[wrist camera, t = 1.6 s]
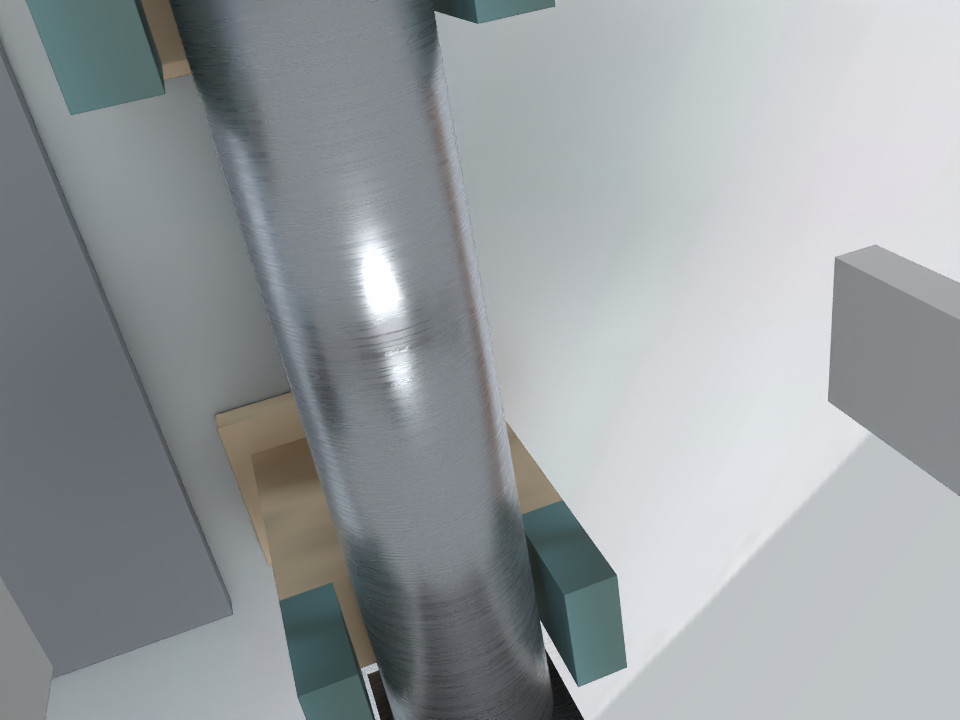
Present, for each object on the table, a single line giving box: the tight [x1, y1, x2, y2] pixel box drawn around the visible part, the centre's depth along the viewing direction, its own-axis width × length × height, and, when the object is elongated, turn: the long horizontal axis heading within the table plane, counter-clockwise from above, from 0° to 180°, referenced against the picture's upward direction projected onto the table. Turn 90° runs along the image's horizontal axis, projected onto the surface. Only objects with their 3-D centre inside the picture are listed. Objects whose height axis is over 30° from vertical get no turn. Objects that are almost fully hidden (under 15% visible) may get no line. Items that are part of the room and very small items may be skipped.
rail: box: [169, 0, 584, 720], centre depth 15 cm, size 20×4×4 cm, turn 9°
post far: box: [215, 392, 627, 720], centre depth 22 cm, size 8×5×10 cm, turn 99°
